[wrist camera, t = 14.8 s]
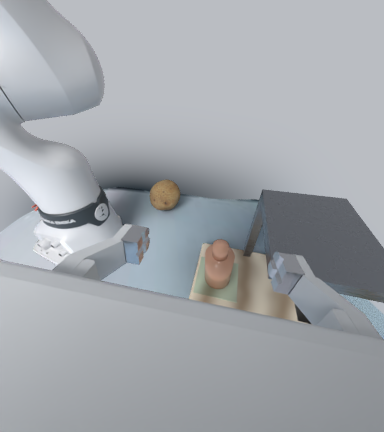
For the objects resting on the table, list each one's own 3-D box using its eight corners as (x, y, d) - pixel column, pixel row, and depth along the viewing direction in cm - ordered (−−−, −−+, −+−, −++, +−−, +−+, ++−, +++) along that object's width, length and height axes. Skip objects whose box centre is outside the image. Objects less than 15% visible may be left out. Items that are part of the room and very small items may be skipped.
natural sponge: (170, 222, 48) (165, 194, 42) (146, 213, 52) (139, 185, 45) (186, 205, 54) (184, 178, 47) (164, 198, 57) (160, 171, 51)
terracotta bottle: (202, 285, 32) (202, 254, 25) (207, 263, 36) (208, 231, 29) (228, 292, 31) (235, 262, 24) (231, 268, 34) (238, 236, 28)
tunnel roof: (241, 323, 27) (272, 271, 16) (243, 250, 38) (262, 189, 27) (323, 344, 25) (423, 301, 14) (300, 260, 36) (346, 198, 25)
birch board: (185, 318, 30) (184, 314, 28) (202, 248, 41) (202, 242, 40) (344, 362, 25) (353, 360, 24) (313, 268, 36) (318, 263, 35)
